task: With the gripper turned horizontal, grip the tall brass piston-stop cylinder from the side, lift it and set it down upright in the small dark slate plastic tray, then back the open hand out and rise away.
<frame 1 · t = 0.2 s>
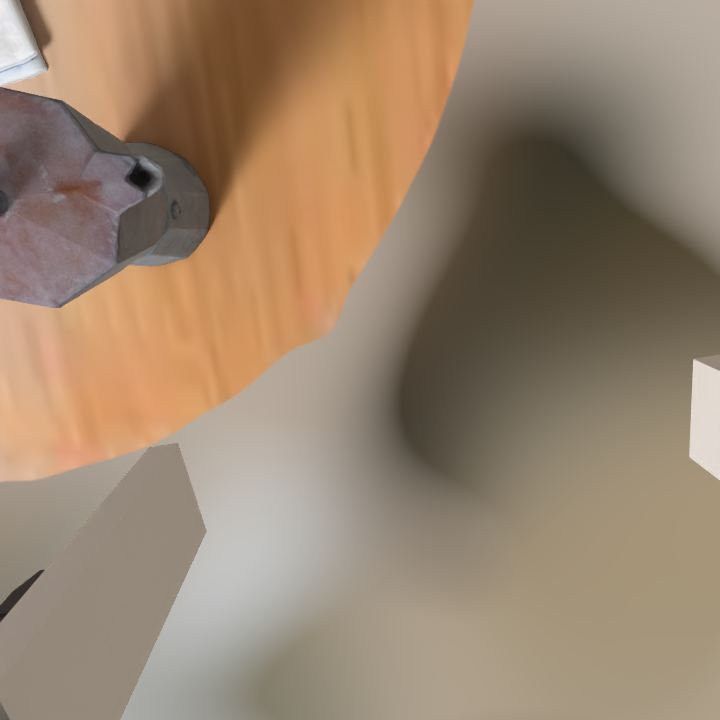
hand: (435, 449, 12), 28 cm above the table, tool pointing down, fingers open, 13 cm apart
moka pot: (152, 210, 37), on the table
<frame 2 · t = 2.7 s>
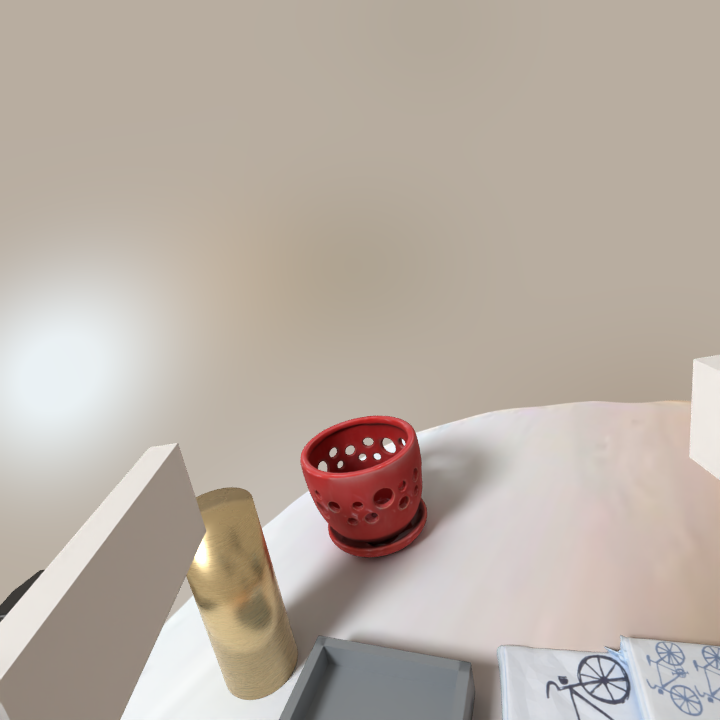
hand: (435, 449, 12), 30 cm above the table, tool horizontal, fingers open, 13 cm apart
plant pot: (376, 531, 56), on the table
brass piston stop: (261, 663, 42), on the table
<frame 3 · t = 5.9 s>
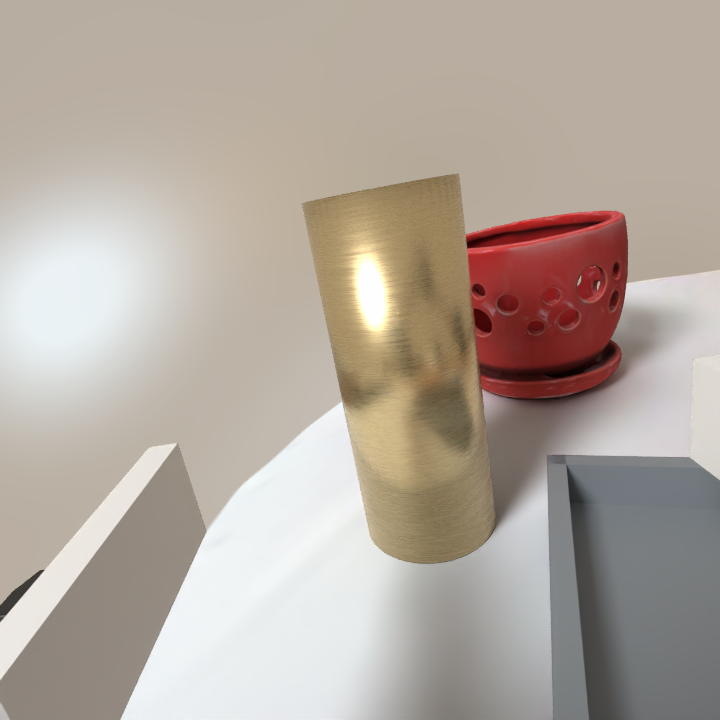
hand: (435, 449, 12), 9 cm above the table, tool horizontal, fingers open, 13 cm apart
plant pot: (534, 380, 39), on the table
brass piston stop: (430, 517, 24), on the table
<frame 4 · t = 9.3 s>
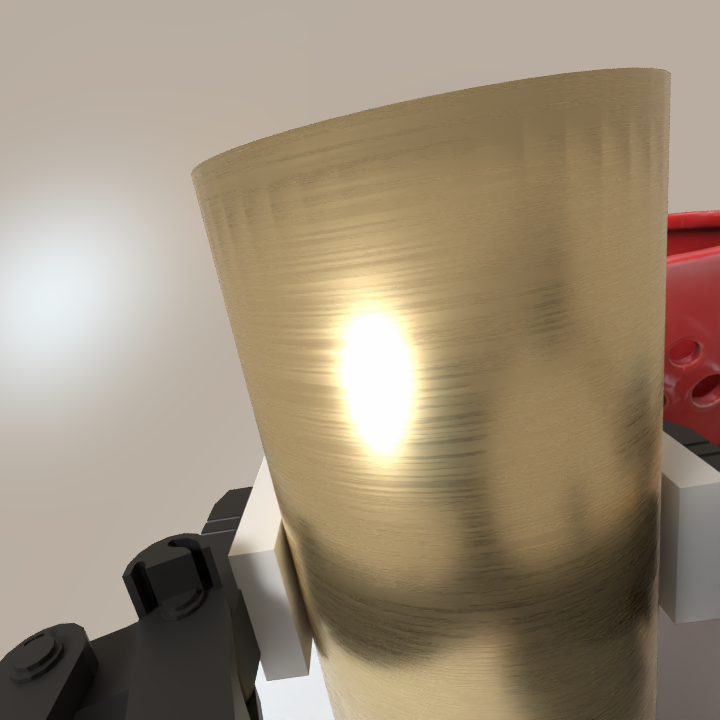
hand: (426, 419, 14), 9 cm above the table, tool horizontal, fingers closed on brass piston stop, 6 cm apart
plant pot: (617, 459, 26), on the table
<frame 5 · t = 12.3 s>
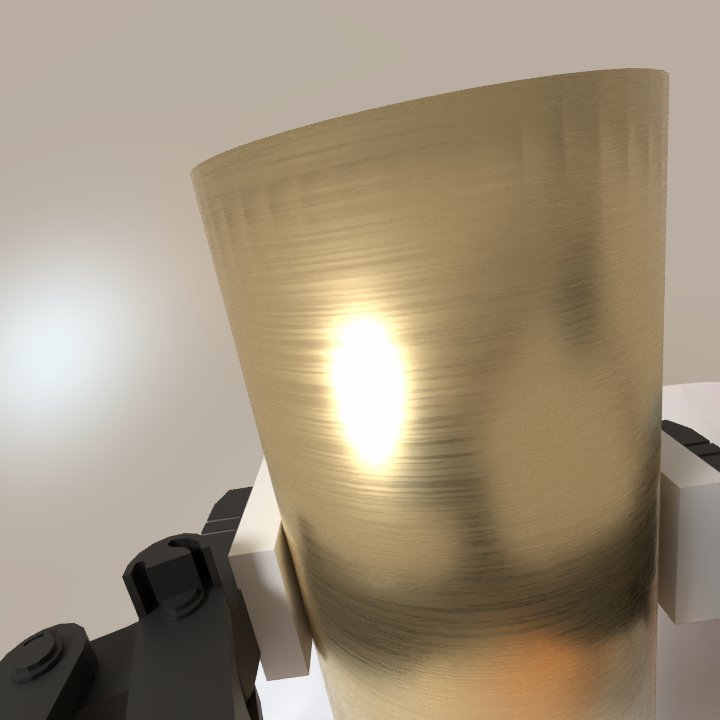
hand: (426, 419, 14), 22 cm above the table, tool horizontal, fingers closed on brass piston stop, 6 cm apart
when the fingers open (11 cm above the table, at t = 15.4 s): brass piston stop drops 1 cm, resting on slate tray.
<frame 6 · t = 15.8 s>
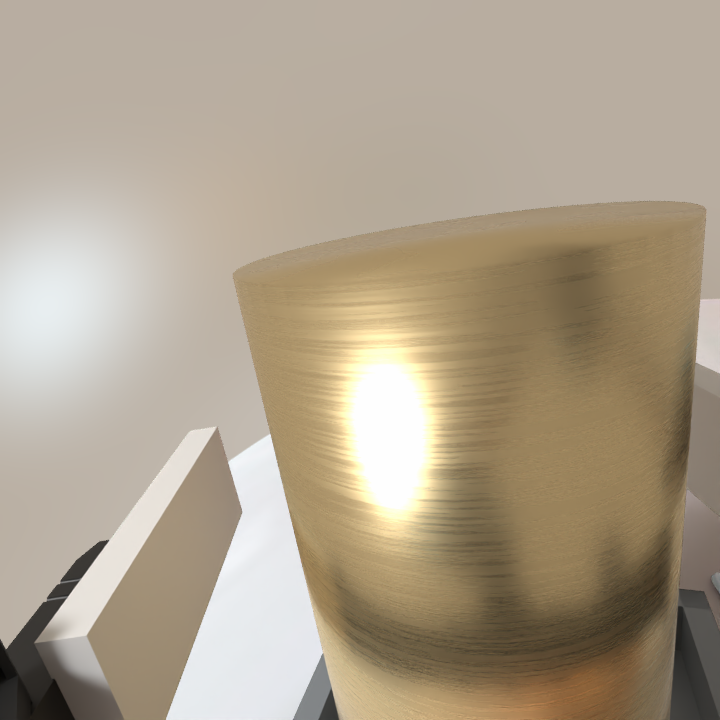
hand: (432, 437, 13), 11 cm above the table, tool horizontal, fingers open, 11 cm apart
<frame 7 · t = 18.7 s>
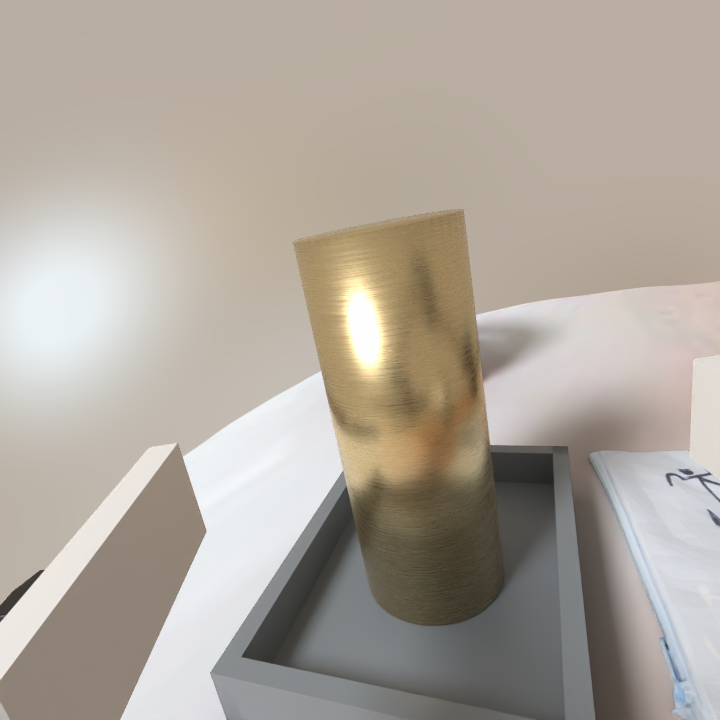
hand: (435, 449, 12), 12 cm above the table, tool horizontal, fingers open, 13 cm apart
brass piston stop: (434, 569, 23), point 1 cm above the table, touching slate tray
slate tray: (436, 585, 23), on the table
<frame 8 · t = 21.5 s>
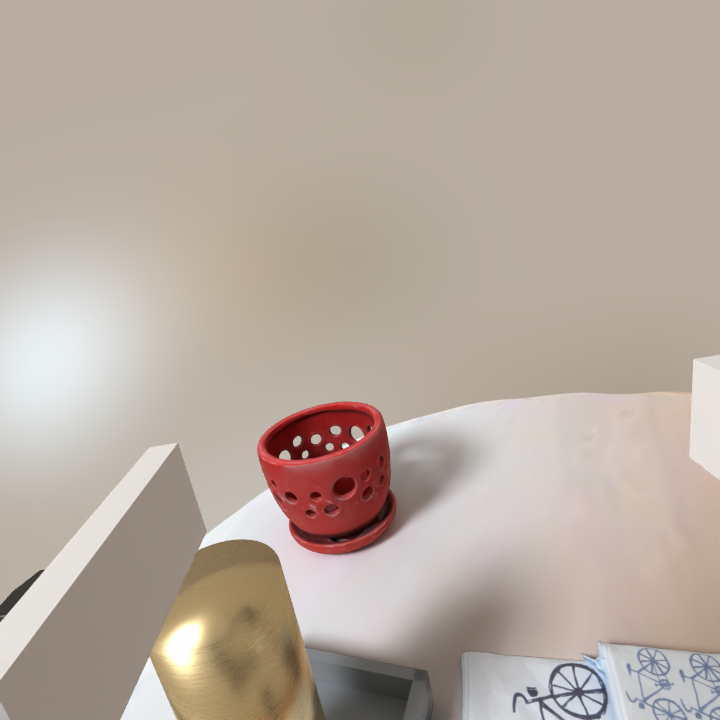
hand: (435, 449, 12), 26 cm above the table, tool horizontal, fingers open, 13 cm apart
plant pot: (341, 526, 52), on the table
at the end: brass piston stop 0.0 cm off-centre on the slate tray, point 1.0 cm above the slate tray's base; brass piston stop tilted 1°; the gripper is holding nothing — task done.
